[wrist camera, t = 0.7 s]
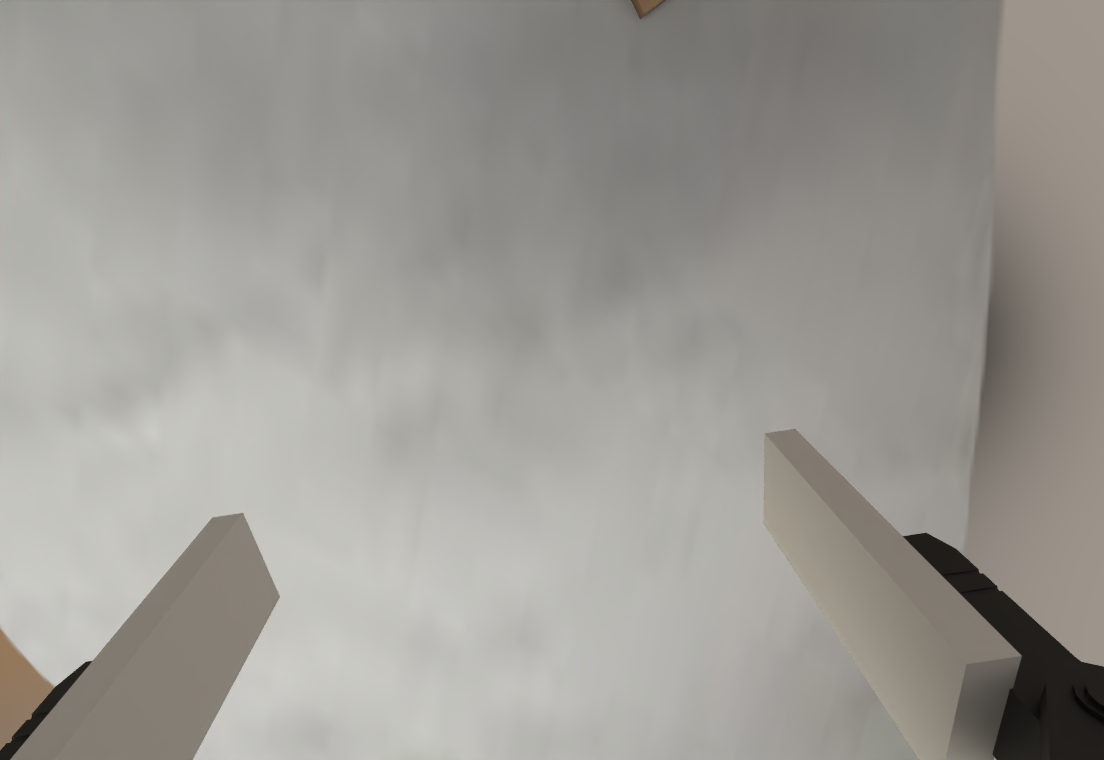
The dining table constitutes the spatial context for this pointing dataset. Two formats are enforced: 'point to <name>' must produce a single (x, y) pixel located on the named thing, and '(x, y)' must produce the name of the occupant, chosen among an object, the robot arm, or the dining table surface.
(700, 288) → the dining table surface
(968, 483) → the dining table surface
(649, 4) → the socket block
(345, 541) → the dining table surface
